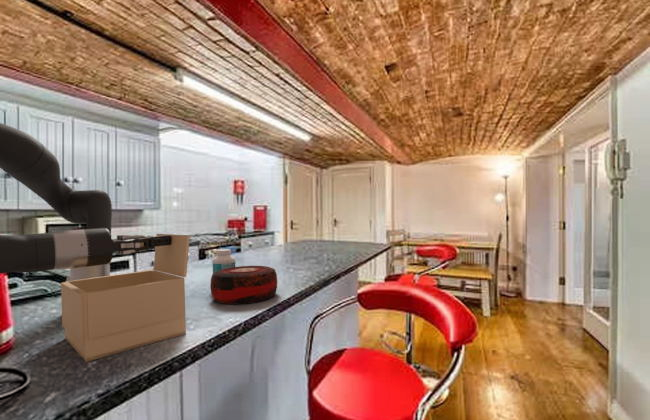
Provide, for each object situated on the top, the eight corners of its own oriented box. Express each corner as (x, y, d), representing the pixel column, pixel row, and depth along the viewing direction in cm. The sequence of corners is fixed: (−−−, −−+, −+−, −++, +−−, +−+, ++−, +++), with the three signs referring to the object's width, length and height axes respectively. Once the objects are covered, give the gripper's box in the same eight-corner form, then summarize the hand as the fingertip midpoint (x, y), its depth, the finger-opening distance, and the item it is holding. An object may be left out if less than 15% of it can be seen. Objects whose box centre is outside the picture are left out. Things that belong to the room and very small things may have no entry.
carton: (83, 363, 60) (81, 295, 60) (61, 338, 73) (60, 282, 73) (187, 334, 74) (185, 278, 74) (153, 317, 87) (151, 269, 87)
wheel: (268, 306, 95) (284, 289, 115) (267, 275, 95) (283, 264, 115) (198, 306, 97) (226, 290, 116) (197, 276, 97) (225, 265, 117)
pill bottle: (223, 293, 111) (222, 251, 111) (208, 291, 115) (207, 250, 115) (240, 288, 117) (239, 249, 117) (225, 286, 121) (224, 248, 121)
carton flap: (187, 235, 75) (190, 235, 76) (156, 233, 87) (159, 233, 88) (183, 277, 74) (186, 277, 75) (153, 269, 86) (156, 269, 87)
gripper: (88, 230, 64) (181, 224, 76) (73, 229, 73) (159, 223, 86) (90, 270, 64) (183, 257, 76) (75, 264, 73) (160, 254, 86)
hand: (170, 239), depth 81 cm, fingers closed
